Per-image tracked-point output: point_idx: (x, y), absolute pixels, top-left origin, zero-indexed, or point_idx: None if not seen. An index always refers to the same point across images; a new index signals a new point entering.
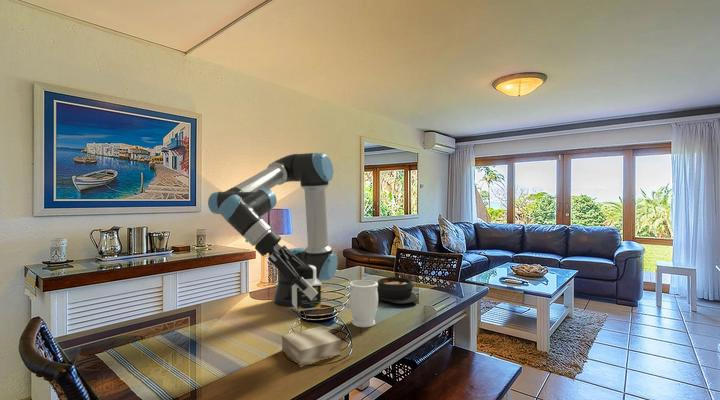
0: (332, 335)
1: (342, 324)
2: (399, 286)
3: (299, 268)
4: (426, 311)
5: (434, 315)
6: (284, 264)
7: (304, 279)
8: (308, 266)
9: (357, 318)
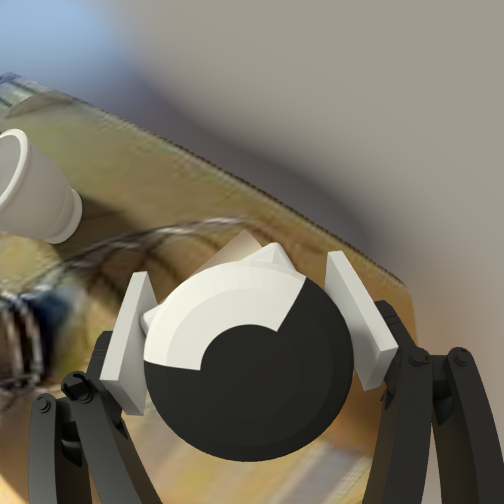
0: (216, 259)
1: (61, 269)
2: None
3: (327, 413)
4: (30, 108)
5: (50, 92)
6: (501, 464)
7: (376, 328)
8: (274, 336)
9: (67, 219)
